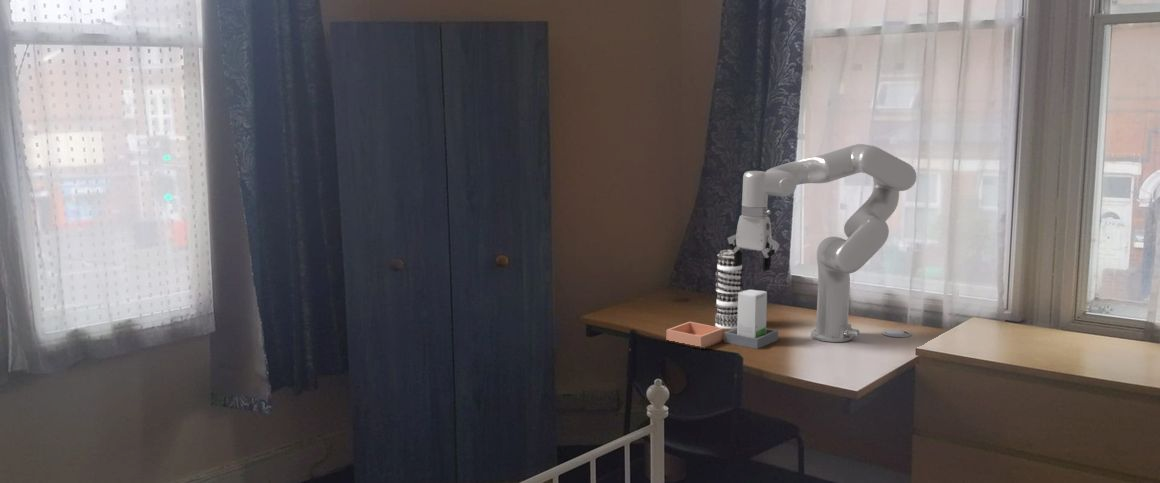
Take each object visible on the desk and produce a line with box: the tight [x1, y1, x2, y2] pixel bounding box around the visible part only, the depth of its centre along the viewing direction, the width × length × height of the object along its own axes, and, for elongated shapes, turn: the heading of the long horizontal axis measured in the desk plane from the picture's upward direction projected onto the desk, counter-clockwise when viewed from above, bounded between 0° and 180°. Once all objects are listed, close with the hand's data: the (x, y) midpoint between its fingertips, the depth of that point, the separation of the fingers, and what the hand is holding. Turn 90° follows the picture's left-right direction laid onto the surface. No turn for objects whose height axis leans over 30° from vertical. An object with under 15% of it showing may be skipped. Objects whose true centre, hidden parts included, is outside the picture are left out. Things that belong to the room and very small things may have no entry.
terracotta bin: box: [665, 321, 725, 348], centre depth 284 cm, size 13×13×4 cm
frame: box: [723, 327, 779, 350], centre depth 284 cm, size 12×13×3 cm
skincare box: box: [737, 289, 768, 338], centre depth 283 cm, size 8×7×16 cm
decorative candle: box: [714, 249, 745, 330], centre depth 300 cm, size 9×9×25 cm
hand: (751, 267), depth 281 cm, fingers open, 9 cm apart
